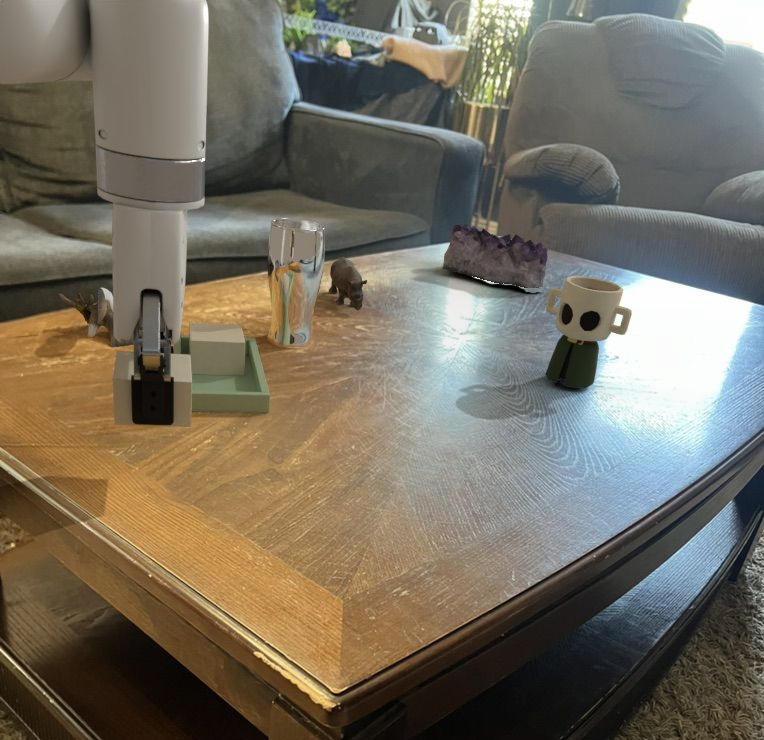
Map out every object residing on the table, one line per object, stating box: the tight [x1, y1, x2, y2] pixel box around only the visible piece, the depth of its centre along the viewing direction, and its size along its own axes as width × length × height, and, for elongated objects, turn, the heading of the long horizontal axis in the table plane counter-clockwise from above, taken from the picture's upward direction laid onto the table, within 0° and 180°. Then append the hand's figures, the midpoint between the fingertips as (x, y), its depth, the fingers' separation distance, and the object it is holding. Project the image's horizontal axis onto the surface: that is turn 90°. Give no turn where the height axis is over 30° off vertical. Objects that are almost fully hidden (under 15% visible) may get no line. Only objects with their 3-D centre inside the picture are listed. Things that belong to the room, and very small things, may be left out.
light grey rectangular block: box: [112, 350, 192, 428], centre depth 65 cm, size 6×6×4 cm
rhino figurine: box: [328, 256, 368, 311], centre depth 118 cm, size 4×14×6 cm, turn 16°
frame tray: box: [173, 334, 271, 414], centre depth 87 cm, size 17×10×2 cm, turn 13°
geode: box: [442, 223, 549, 288], centre depth 141 cm, size 20×12×10 cm, turn 62°
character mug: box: [545, 275, 633, 389], centre depth 98 cm, size 11×7×13 cm, turn 55°
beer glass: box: [266, 217, 326, 350], centre depth 98 cm, size 7×7×15 cm
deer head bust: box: [58, 287, 134, 348], centre depth 94 cm, size 8×7×9 cm
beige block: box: [188, 322, 245, 376], centre depth 90 cm, size 6×6×4 cm
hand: (153, 403), depth 65 cm, fingers closed on light grey rectangular block, 6 cm apart
